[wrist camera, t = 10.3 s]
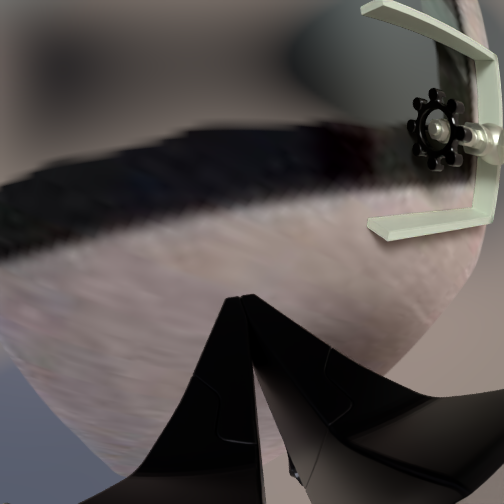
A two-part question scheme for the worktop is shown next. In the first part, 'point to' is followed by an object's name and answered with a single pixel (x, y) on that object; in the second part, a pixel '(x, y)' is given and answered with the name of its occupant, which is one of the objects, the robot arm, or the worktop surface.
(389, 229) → the u-shaped bracket
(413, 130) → the valve
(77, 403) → the worktop surface
